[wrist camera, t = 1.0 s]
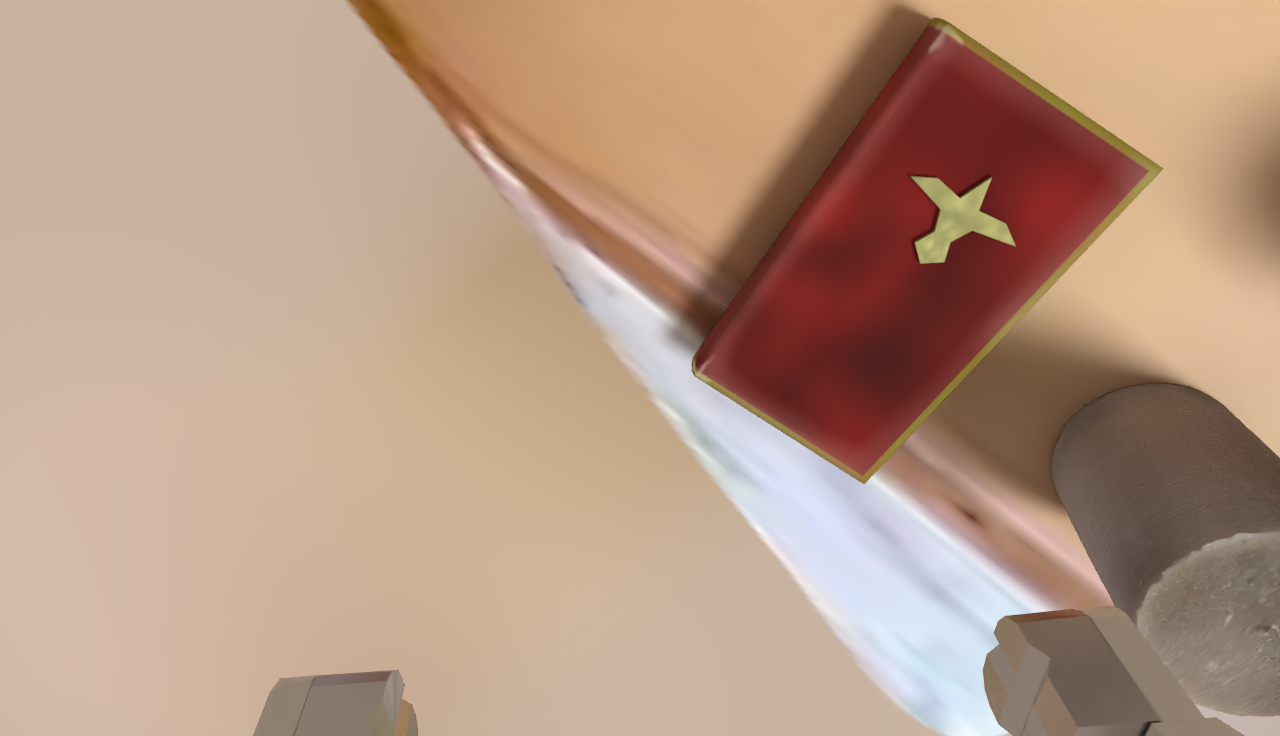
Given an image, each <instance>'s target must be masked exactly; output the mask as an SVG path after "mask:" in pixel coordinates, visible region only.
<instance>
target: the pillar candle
mask: <svg viewBox="0 0 1280 736" xmlns="http://www.w3.org/2000/svg"><path fill="white" fill-rule="evenodd" d="M1051 475H1052V479H1053V483H1054V486H1055V490H1056V492H1057V494H1058V496H1059V497H1060V500H1061V502H1062V504H1063V506H1064V508H1065V510H1066V511H1067V513H1068V515H1069V518H1070V520H1071V522H1072V524H1073V526H1074V528H1075V530H1076V532H1077V533H1078V536H1079V538H1080V540H1081V542H1082V544H1083V546H1084V548H1085V549H1086V551H1087V554H1088V556H1089V558H1090V560H1091V562H1092V563H1093V565H1094V567H1095V570H1096V571H1097V573H1098V575H1099V577H1100V579H1101V581H1102V583H1103V584H1104V586H1105V588H1106V590H1107V591H1108V593H1109V595H1110V597H1111V599H1112V601H1113V603H1114V606H1115V607H1117V608H1119V609H1120V610H1122V611H1123V612H1125V613H1126V614H1127V615H1128V617H1129V618H1130V619H1131V620H1132V622H1133V623H1134V624H1135V626H1136V627H1137V628H1138V630H1139V631H1140V632H1141V634H1142V635H1143V636H1144V638H1145V639H1146V640H1147V642H1148V643H1149V644H1150V646H1151V647H1152V648H1153V650H1154V651H1155V652H1156V654H1157V655H1158V656H1159V658H1160V659H1161V660H1162V662H1163V663H1164V664H1165V666H1166V667H1167V668H1168V670H1169V671H1170V672H1171V674H1172V675H1173V676H1174V678H1175V679H1176V680H1177V682H1178V683H1179V684H1180V686H1181V687H1182V688H1183V690H1184V691H1185V692H1186V694H1187V695H1188V696H1189V698H1190V699H1191V700H1192V702H1193V703H1195V704H1197V705H1200V706H1203V707H1206V708H1209V709H1213V710H1216V711H1221V712H1224V713H1227V714H1232V715H1238V716H1279V715H1280V458H1279V457H1278V456H1277V455H1276V454H1275V453H1274V452H1273V451H1272V450H1271V449H1270V448H1269V447H1267V446H1266V445H1265V444H1264V443H1263V442H1262V441H1261V440H1260V439H1259V438H1258V437H1257V436H1256V435H1255V434H1254V433H1253V432H1252V431H1250V430H1249V429H1248V428H1247V427H1246V426H1245V425H1244V424H1243V423H1242V422H1241V421H1240V420H1239V419H1237V418H1236V417H1235V416H1234V414H1233V413H1231V412H1230V411H1229V410H1228V409H1227V408H1226V407H1225V406H1224V405H1223V404H1221V403H1220V402H1218V401H1217V400H1215V399H1213V398H1212V397H1210V396H1208V395H1207V394H1205V393H1203V392H1201V391H1198V390H1195V389H1192V388H1190V387H1185V386H1179V385H1174V384H1160V383H1154V384H1141V385H1135V386H1131V387H1125V388H1122V389H1119V390H1116V391H1113V392H1110V393H1108V394H1105V395H1104V396H1102V397H1100V398H1097V399H1095V400H1093V401H1092V402H1090V403H1089V404H1087V405H1085V407H1083V408H1082V409H1081V410H1079V411H1078V412H1077V413H1076V414H1075V415H1073V416H1072V417H1071V419H1070V420H1069V421H1068V422H1067V424H1066V425H1065V427H1064V429H1063V430H1062V433H1061V435H1060V437H1059V440H1058V441H1057V444H1056V446H1055V448H1054V452H1053V456H1052V462H1051Z"/></svg>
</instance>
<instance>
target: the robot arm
mask: <svg viewBox="0 0 1280 736" xmlns="http://www.w3.org/2000/svg"><path fill="white" fill-rule="evenodd" d="M994 635H995V636H996V638H997V640H998V642H999V645H998V646H996V647H995V648H994V649H993V650H991V651H990V652H989V653H988V654H987V656H986V660H985V664H984V668H983V676H984V686H985V692H986V695H987V698H988V701H989V704H990V707H991V709H992V711H993V713H994V716H995V718H996V720H997V722H998V724H999V725H1000V726H1001V727H1003V728H1004V729H1005V730H1007V731H1008V732H1009V733H1010V734H1012V735H1013V736H1244V735H1243V734H1241V733H1240V732H1238V731H1236V730H1235V729H1233V728H1232V727H1230V726H1229V725H1227V724H1226V723H1224V722H1222V721H1221V720H1219V719H1218V718H1204V717H1203V715H1202V714H1201V712H1200V711H1199V710H1198V708H1197V707H1196V706H1195V704H1194V703H1193V702H1192V700H1191V699H1190V698H1189V696H1188V695H1187V694H1186V692H1185V691H1184V690H1183V688H1182V687H1181V686H1180V684H1179V683H1178V682H1177V680H1176V679H1175V678H1174V676H1173V675H1172V674H1171V672H1170V671H1169V670H1168V668H1167V667H1166V666H1165V664H1164V663H1163V662H1162V660H1161V659H1160V658H1159V656H1158V655H1157V654H1156V652H1155V651H1154V650H1153V648H1152V647H1151V646H1150V644H1149V643H1148V642H1147V640H1146V639H1145V638H1144V636H1143V635H1142V634H1141V632H1140V631H1139V630H1138V628H1137V627H1136V626H1135V624H1134V623H1133V622H1132V620H1131V619H1130V618H1129V617H1128V615H1127V614H1126V613H1125V612H1123V611H1122V610H1120V609H1119V608H1117V607H1100V608H1091V609H1082V610H1074V609H1069V610H1059V611H1049V612H1040V613H1030V614H1021V615H1011V616H1004V617H1003V618H1002V619H1000V620H999V621H998V623H997V626H996V629H995V631H994ZM404 686H405V684H404V682H403V679H402V677H401V675H400V673H399V670H390V671H375V672H362V673H348V674H333V675H315V676H303V677H292V678H281V679H279V681H278V682H277V683H276V685H275V686H274V687H273V689H272V690H271V691H270V693H269V696H268V699H267V701H266V704H265V706H264V709H263V711H262V714H261V717H260V719H259V722H258V724H257V727H256V730H255V732H254V735H253V736H418V727H417V720H416V714H415V712H414V709H413V706H412V704H410V703H408V702H407V701H405V700H404V699H402V694H403V690H404Z"/></svg>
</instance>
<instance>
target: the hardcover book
mask: <svg viewBox="0 0 1280 736" xmlns="http://www.w3.org/2000/svg"><path fill="white" fill-rule="evenodd" d="M1162 169H1163V168H1162V167H1160V166H1159V165H1157V164H1156V163H1154V162H1153V161H1151V160H1150V159H1149V158H1147V157H1146V156H1144V155H1143V154H1141V153H1140V152H1138V151H1137V150H1135V149H1134V148H1132V147H1131V146H1129V145H1128V144H1126V143H1125V142H1124V141H1122V140H1121V139H1119V138H1118V137H1116V136H1115V135H1113V134H1112V133H1110V132H1109V131H1107V130H1106V129H1104V128H1103V127H1101V126H1100V125H1099V124H1097V123H1096V122H1094V121H1093V120H1091V119H1090V118H1088V117H1087V116H1085V115H1084V114H1082V113H1081V112H1079V111H1078V110H1077V109H1075V108H1074V107H1072V106H1071V105H1069V104H1068V103H1066V102H1065V101H1063V100H1062V99H1060V98H1059V97H1057V96H1056V95H1054V94H1053V93H1052V92H1050V91H1049V90H1047V89H1046V88H1044V87H1043V86H1041V85H1040V84H1038V83H1037V82H1035V81H1034V80H1032V79H1031V78H1029V77H1028V76H1027V75H1025V74H1024V73H1022V72H1021V71H1019V70H1018V69H1016V68H1015V67H1013V66H1012V65H1010V64H1009V63H1007V62H1006V61H1004V60H1003V59H1002V58H1000V57H999V56H997V55H996V54H994V53H993V52H991V51H990V50H988V49H987V48H985V47H984V46H982V45H981V44H980V43H978V42H977V41H975V40H974V39H972V38H971V37H969V36H968V35H966V34H965V33H963V32H962V31H960V30H959V29H957V28H956V27H955V26H953V25H952V24H950V23H948V22H947V21H945V20H942V19H939V18H933V20H932V21H931V22H930V24H929V25H928V27H927V28H926V29H925V31H924V32H923V34H922V35H921V36H920V38H919V39H918V41H917V42H916V43H915V45H914V46H913V48H912V49H911V50H910V52H909V53H908V55H907V56H906V58H905V59H904V60H903V62H902V63H901V65H900V66H899V67H898V69H897V70H896V72H895V73H894V74H893V76H892V77H891V79H890V80H889V81H888V83H887V84H886V86H885V87H884V89H883V90H882V91H881V93H880V94H879V96H878V97H877V98H876V100H875V101H874V103H873V104H872V105H871V107H870V108H869V110H868V111H867V112H866V114H865V115H864V117H863V118H862V120H861V121H860V122H859V124H858V125H857V127H856V128H855V129H854V131H853V132H852V134H851V135H850V136H849V138H848V139H847V141H846V142H845V143H844V145H843V146H842V148H841V149H840V150H839V152H838V153H837V155H836V156H835V158H834V159H833V160H832V162H831V163H830V165H829V166H828V167H827V169H826V170H825V172H824V173H823V174H822V176H821V177H820V179H819V180H818V181H817V183H816V184H815V186H814V187H813V189H812V190H811V191H810V193H809V194H808V196H807V197H806V198H805V200H804V201H803V203H802V204H801V205H800V207H799V208H798V210H797V211H796V212H795V214H794V215H793V217H792V218H791V220H790V221H789V222H788V224H787V225H786V227H785V228H784V229H783V231H782V232H781V234H780V235H779V236H778V238H777V239H776V241H775V242H774V243H773V245H772V246H771V248H770V249H769V250H768V252H767V253H766V255H765V256H764V258H763V259H762V260H761V262H760V263H759V265H758V266H757V267H756V269H755V270H754V272H753V273H752V274H751V276H750V277H749V279H748V280H747V281H746V283H745V284H744V286H743V287H742V289H741V290H740V291H739V293H738V294H737V296H736V297H735V298H734V300H733V301H732V303H731V304H730V305H729V307H728V308H727V310H726V311H725V312H724V314H723V315H722V317H721V318H720V320H719V321H718V322H717V324H716V325H715V327H714V328H713V329H712V331H711V332H710V334H709V335H708V336H707V338H706V339H705V341H704V342H703V343H702V345H701V346H700V348H699V349H698V350H697V352H696V353H695V355H694V357H693V360H692V372H693V374H694V376H695V377H697V378H698V379H700V380H701V381H703V382H705V383H706V384H708V385H709V386H711V387H712V388H714V389H716V390H717V391H719V392H720V393H722V394H723V395H725V396H726V397H728V398H730V399H731V400H733V401H734V402H736V403H737V404H739V405H741V406H742V407H744V408H745V409H747V410H748V411H750V412H752V413H753V414H755V415H756V416H758V417H759V418H761V419H763V420H764V421H766V422H767V423H769V424H770V425H772V426H774V427H775V428H777V429H778V430H780V431H781V432H783V433H785V434H786V435H788V436H789V437H791V438H792V439H794V440H796V441H797V442H799V443H800V444H802V445H803V446H805V447H806V448H808V449H810V450H811V451H813V452H814V453H816V454H817V455H819V456H821V457H822V458H824V459H825V460H827V461H828V462H830V463H832V464H833V465H835V466H836V467H838V468H839V469H841V470H843V471H844V472H846V473H847V474H849V475H850V476H852V477H854V478H855V479H857V480H858V481H860V482H861V483H863V484H865V483H866V482H867V481H868V480H869V478H870V477H871V476H872V475H873V474H874V473H875V472H876V471H877V470H878V469H879V468H880V467H881V466H882V465H883V464H884V463H885V462H886V461H887V460H888V458H889V457H890V456H891V455H892V454H893V453H894V452H895V451H896V450H897V449H898V448H899V447H900V446H901V445H902V444H903V443H904V442H905V441H906V439H907V438H908V437H909V436H910V435H911V434H912V433H913V432H914V431H915V430H916V429H917V428H918V427H919V426H920V425H921V424H922V423H923V422H924V420H925V419H926V418H927V417H928V416H929V415H930V414H931V413H932V412H933V411H934V410H935V409H936V408H937V407H938V406H939V405H940V404H941V403H942V401H943V400H944V399H945V398H946V397H947V396H948V395H949V394H950V393H951V392H952V391H953V390H954V389H955V388H956V387H957V386H958V385H959V384H960V383H961V381H962V380H963V379H964V378H965V377H966V376H967V375H968V374H969V373H970V372H971V371H972V370H973V369H974V368H975V367H976V366H977V365H978V364H979V362H980V361H981V360H982V359H983V358H984V357H985V356H986V355H987V354H988V353H989V352H990V351H991V350H992V349H993V348H994V347H995V346H996V345H997V343H998V342H999V341H1000V340H1001V339H1002V338H1003V337H1004V336H1005V335H1006V334H1007V333H1008V332H1009V331H1010V330H1011V329H1012V328H1013V327H1014V326H1015V324H1016V323H1017V322H1018V321H1019V320H1020V319H1021V318H1022V317H1023V316H1024V315H1025V314H1026V313H1027V312H1028V311H1029V310H1030V309H1031V308H1032V307H1033V305H1034V304H1035V303H1036V302H1037V301H1038V300H1039V299H1040V298H1041V297H1042V296H1043V295H1044V294H1045V293H1046V292H1047V291H1048V290H1049V289H1050V288H1051V287H1052V285H1053V284H1054V283H1055V282H1056V281H1057V280H1058V279H1059V278H1060V277H1061V276H1062V275H1063V274H1064V273H1065V272H1066V271H1067V270H1068V269H1069V268H1070V266H1071V265H1072V264H1073V263H1074V262H1075V261H1076V260H1077V259H1078V258H1079V257H1080V256H1081V255H1082V254H1083V253H1084V252H1085V251H1086V250H1087V249H1088V247H1089V246H1090V245H1091V244H1092V243H1093V242H1094V241H1095V240H1096V239H1097V238H1098V237H1099V236H1100V235H1101V234H1102V233H1103V232H1104V231H1105V230H1106V228H1107V227H1108V226H1109V225H1110V224H1111V223H1112V222H1113V221H1114V220H1115V219H1116V218H1117V217H1118V216H1119V215H1120V214H1121V213H1122V212H1123V211H1124V210H1125V208H1126V207H1127V206H1128V205H1129V204H1130V203H1131V202H1132V201H1133V200H1134V199H1135V198H1136V197H1137V196H1138V195H1139V194H1140V193H1141V192H1142V191H1143V189H1144V188H1145V187H1146V186H1147V185H1148V184H1149V183H1150V182H1151V181H1152V180H1153V179H1154V178H1155V177H1156V176H1157V175H1158V174H1159V173H1160V172H1161V170H1162Z"/></svg>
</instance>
